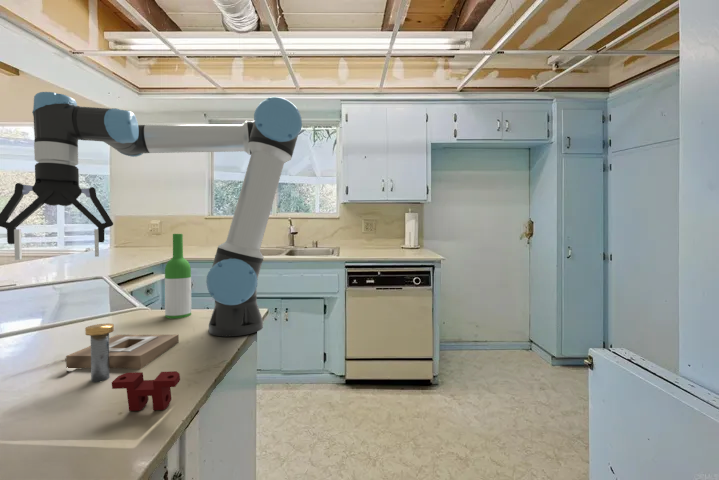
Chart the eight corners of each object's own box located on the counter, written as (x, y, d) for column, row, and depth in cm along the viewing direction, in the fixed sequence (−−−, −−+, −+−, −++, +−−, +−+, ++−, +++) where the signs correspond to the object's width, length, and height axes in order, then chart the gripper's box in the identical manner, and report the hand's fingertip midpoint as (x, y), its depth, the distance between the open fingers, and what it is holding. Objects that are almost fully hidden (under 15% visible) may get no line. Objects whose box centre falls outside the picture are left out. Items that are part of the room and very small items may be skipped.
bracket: (121, 372, 60) (181, 371, 61) (125, 402, 61) (184, 400, 62) (111, 382, 57) (174, 380, 58) (115, 413, 58) (177, 411, 59)
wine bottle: (175, 327, 111) (175, 233, 111) (159, 325, 114) (158, 233, 114) (196, 322, 118) (195, 233, 118) (180, 320, 121) (180, 233, 121)
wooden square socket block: (178, 347, 91) (178, 333, 91) (140, 371, 75) (140, 354, 75) (117, 348, 91) (117, 333, 91) (66, 372, 75) (66, 355, 75)
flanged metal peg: (119, 376, 73) (119, 323, 73) (103, 386, 68) (103, 329, 68) (97, 377, 73) (96, 323, 73) (80, 386, 68) (79, 329, 68)
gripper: (122, 172, 90) (124, 254, 90) (-18, 161, 75) (-15, 259, 75) (124, 167, 84) (126, 255, 84) (-28, 154, 69) (-25, 261, 69)
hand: (59, 258), depth 80 cm, fingers open, 13 cm apart
